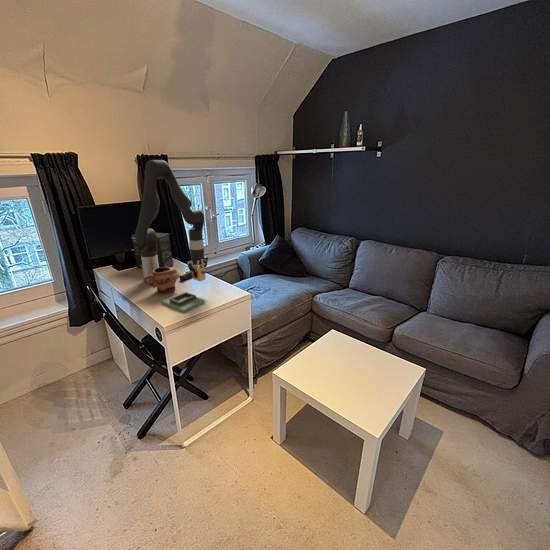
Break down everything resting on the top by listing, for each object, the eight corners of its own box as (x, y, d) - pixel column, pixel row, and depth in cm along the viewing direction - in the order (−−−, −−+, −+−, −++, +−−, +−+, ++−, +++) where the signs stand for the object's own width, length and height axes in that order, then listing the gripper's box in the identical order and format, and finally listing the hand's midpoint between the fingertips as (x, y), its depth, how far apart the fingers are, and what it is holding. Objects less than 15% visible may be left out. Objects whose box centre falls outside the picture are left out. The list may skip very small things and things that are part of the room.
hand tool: (183, 282, 187) (183, 275, 186) (179, 280, 189) (178, 274, 188) (205, 273, 202) (204, 266, 201) (200, 272, 204) (200, 265, 203)
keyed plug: (202, 282, 164) (201, 270, 162) (191, 278, 169) (190, 267, 166) (208, 280, 167) (207, 268, 165) (197, 276, 172) (196, 265, 170)
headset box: (136, 268, 210) (130, 232, 201) (147, 262, 221) (142, 228, 211) (163, 271, 204) (158, 234, 195) (173, 266, 215) (169, 230, 205)
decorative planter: (150, 300, 163) (146, 276, 158) (142, 292, 171) (138, 270, 166) (184, 290, 175) (182, 268, 170) (175, 284, 183) (173, 262, 178)
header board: (161, 303, 159) (161, 297, 158) (182, 294, 170) (182, 288, 169) (184, 312, 150) (183, 306, 148) (204, 302, 160) (204, 296, 159)
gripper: (201, 243, 169) (203, 271, 175) (181, 248, 158) (184, 278, 164) (211, 245, 165) (212, 274, 171) (191, 251, 154) (193, 281, 160)
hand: (198, 276), depth 168 cm, fingers closed on keyed plug, 4 cm apart
